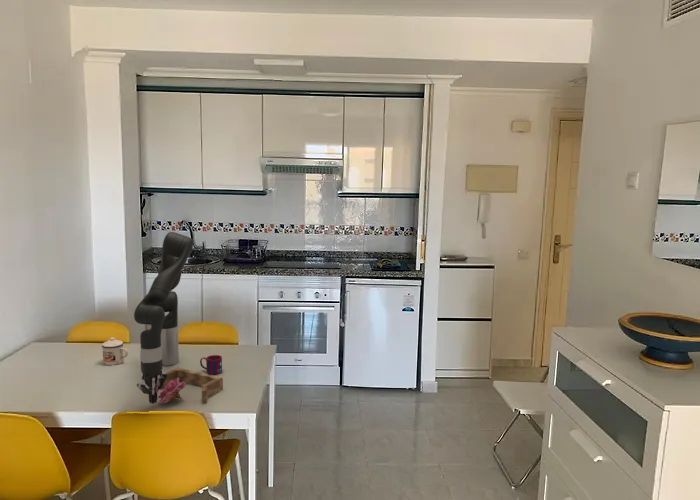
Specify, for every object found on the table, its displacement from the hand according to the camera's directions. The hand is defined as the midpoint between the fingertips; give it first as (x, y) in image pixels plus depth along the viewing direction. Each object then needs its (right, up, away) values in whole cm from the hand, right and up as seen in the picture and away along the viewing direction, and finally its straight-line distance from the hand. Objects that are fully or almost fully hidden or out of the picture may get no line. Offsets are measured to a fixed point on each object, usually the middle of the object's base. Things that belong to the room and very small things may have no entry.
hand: (153, 402), depth 197 cm
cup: (+12, +3, +37) cm, 39 cm away
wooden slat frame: (+8, 0, +17) cm, 18 cm away
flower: (+5, -1, +6) cm, 8 cm away
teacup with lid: (-34, +5, +46) cm, 58 cm away
